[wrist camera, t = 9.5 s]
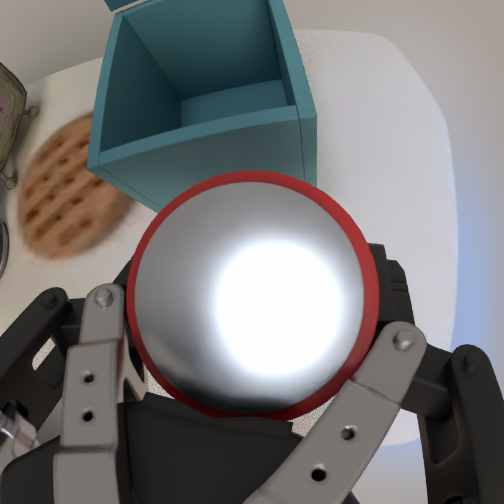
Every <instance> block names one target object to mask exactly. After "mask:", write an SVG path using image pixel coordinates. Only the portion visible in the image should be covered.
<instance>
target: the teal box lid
mask: <svg viewBox="0 0 504 504" xmlns="http://www.w3.org/2000/svg"><path fill="white" fill-rule="evenodd" d="M104 1H105V2H106V4H107V5H108V7H109V9H110V11H114V10H116V9H118V8H120V7H123V6H125V5H128V4H130V3H132V2H135V1H138V0H104Z"/></svg>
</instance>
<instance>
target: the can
mask: <svg viewBox="0 0 504 504" xmlns="http://www.w3.org/2000/svg"><path fill="white" fill-rule="evenodd" d="M379 300H380V295H379V281H378V276H377V271H376V266H375V262H374V259H373V256H372V254H371V251H370V248H369V245H368V244H367V242H366V240H365V238H364V236H363V234H362V232H361V230H360V229H359V228H358V226H357V225H356V223H355V222H354V221H353V219H352V218H351V216H350V215H349V214H348V213H347V212H346V211H345V210H344V209H343V208H342V207H341V206H340V205H339V204H338V203H337V202H336V201H335V200H333V199H332V198H331V197H330V196H328V195H327V194H326V193H324V192H323V191H321V190H319V189H318V188H316V187H314V186H313V185H311V184H309V183H306V182H304V181H302V180H299V179H297V178H295V177H291V176H288V175H284V174H280V173H274V172H267V171H240V172H231V173H227V174H223V175H219V176H215V177H212V178H210V179H207V180H205V181H202V182H200V183H198V184H196V185H194V186H192V187H191V188H189V189H187V190H185V191H184V192H183V193H181V194H180V195H178V196H177V197H176V198H174V199H173V200H172V201H171V202H170V203H169V204H168V205H166V206H165V207H164V208H163V209H162V210H161V211H160V213H159V214H158V215H157V216H156V217H155V218H154V220H153V221H152V222H151V224H150V225H149V227H148V228H147V230H146V231H145V233H144V234H143V236H142V238H141V240H140V242H139V244H138V246H137V248H136V251H135V254H134V257H133V259H132V262H131V266H130V271H129V275H128V282H127V292H126V303H127V315H128V322H129V327H130V331H131V335H132V338H133V341H134V344H135V346H136V349H137V351H138V353H139V356H140V357H141V359H142V361H143V363H144V364H145V366H146V368H147V369H148V371H149V372H150V374H151V375H152V376H153V378H154V379H155V380H156V381H157V383H158V384H159V385H160V386H161V387H162V388H163V389H164V390H165V391H166V392H167V393H168V394H169V395H171V396H172V397H173V398H174V399H176V400H179V401H181V402H183V403H184V404H186V405H188V406H190V407H192V408H194V409H196V410H198V411H200V412H202V413H204V414H206V415H208V416H210V417H213V418H231V417H260V418H267V419H273V420H280V421H289V420H293V419H295V418H297V417H300V416H302V415H305V414H307V413H309V412H311V411H313V410H314V409H316V408H318V407H320V406H321V405H323V404H324V403H326V402H327V401H328V400H330V399H331V398H332V397H333V396H335V395H336V394H337V393H338V392H339V391H340V389H341V388H342V386H343V385H344V384H345V382H346V381H347V380H348V379H349V378H350V379H351V378H352V377H353V375H354V374H355V373H356V371H357V370H358V368H359V367H360V365H361V364H362V362H363V360H364V358H365V356H366V354H367V352H368V350H369V348H370V345H371V342H372V339H373V337H374V334H375V330H376V325H377V320H378V315H379Z"/></svg>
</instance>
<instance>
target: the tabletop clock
mask: <svg viewBox="0 0 504 504" xmlns="http://www.w3.org/2000/svg"><path fill="white" fill-rule="evenodd" d="M26 98H27V92H26V90H25V88H24V86H23V85H22V83H21V82H20V81H19V80H18V78H17V77H16V76H15V75H14V74H13V73H12V72H11V71H9V70H8V69H7V68H6V67H5V66H4V65H3V64H2V63H1V62H0V178H2V179H3V180H5V181H6V182H5V186H6V188H7V189H9V190H11V189H13V188H14V187H15V186H16V180H15V179H14V178H13V177H9V178H7V176H6V175H5V174H4V173H3V172H2V171H3V169H4V167H5V165H6V162H7V160H8V157H9V154H10V152H11V149H12V146H13V144H14V141H15V139H16V136H17V133H18V129H19V126H20V123H21V119H22V116H23V115H26V114H28V115H29V116H30V117H35V116H37V114H38V108H37V107H36V106H32V107H30V108H29V110H25V105H26Z"/></svg>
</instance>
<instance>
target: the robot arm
mask: <svg viewBox="0 0 504 504" xmlns="http://www.w3.org/2000/svg"><path fill="white" fill-rule="evenodd" d="M367 244H368V245H369V248H370V251H371V254H372V256H373V259H374V262H375V266H376V271H377V276H378V281H379V295H380V300H379V315H378V320H377V325H376V330H375V334H374V337H373V339H372V342H371V345H370V348H369V350H368V352H367V354H366V356H365V358H364V360H363V362H362V364H361V365H360V367H359V368H358V370H357V371H356V373H355V374H354V376H353V377H352V378H351V379H350V378H349V379H348V380H347V381H346V382H345V384H344V385H343V386H342V388H341V389H340V391H339V392H338V393H337V395H336V396H335V398H334V399H333V400H332V402H331V403H330V404H329V406H328V407H327V409H326V410H325V411H324V413H323V414H322V415H321V417H320V418H319V419H318V420H317V422H316V423H315V424H314V426H313V427H312V428H311V429H310V431H309V432H308V433H307V435H306V436H305V437H303V436H301V435H299V434H297V433H294V432H292V426H293V422H287V421H280V420H273V419H267V418H260V417H231V418H213V417H210V416H208V415H206V414H204V413H202V412H200V411H198V410H196V409H194V408H192V407H190V406H188V405H186V404H184V403H183V402H181V401H179V400H175V399H172V398H168V397H164V396H161V395H157V394H153V393H150V392H149V387H148V375H147V368H146V366H145V364H144V363H143V361H142V359H141V357H140V356H139V353H138V351H137V349H136V346H135V344H134V341H133V338H132V335H131V331H130V327H129V322H128V315H127V303H126V292H127V282H128V275H129V271H130V266H131V262H132V259H133V257H134V255H133V256H132V258H131V260H129V262H128V263H127V264H126V266H125V267H124V268H123V269H122V271H121V272H120V273H119V275H118V276H117V277H116V279H115V280H114V281H113V283H107V284H102V285H100V286H97V287H96V288H94V289H93V290H91V291H90V292H89V293H88V295H87V296H86V298H78V299H69V298H68V296H67V294H66V292H65V290H64V289H62V288H59V287H54V288H50V289H47V290H45V291H43V292H42V293H41V294H39V295H38V296H37V297H36V298H35V300H34V301H33V302H32V303H31V304H30V305H29V306H28V307H27V308H26V309H25V310H24V311H23V312H22V313H21V314H20V315H19V317H18V318H17V319H16V320H15V321H14V322H13V323H12V324H11V325H10V327H9V328H8V329H7V330H6V331H5V332H4V333H3V334H2V336H1V337H0V504H360V503H359V502H358V500H357V499H356V497H355V496H354V495H353V493H352V491H351V489H352V488H353V487H354V485H355V484H356V482H357V481H358V479H359V478H360V476H361V475H362V473H363V471H364V470H365V468H366V467H367V465H368V464H369V462H370V461H371V459H372V458H373V456H374V454H375V453H376V451H377V450H378V448H379V446H380V444H381V443H382V441H383V439H384V438H385V436H386V434H387V432H388V431H389V429H390V427H391V425H392V423H393V422H394V420H395V418H396V416H397V414H398V412H399V410H400V408H401V409H404V410H407V411H410V412H413V413H416V414H417V419H418V425H419V431H420V438H421V444H422V451H423V458H424V467H425V476H426V486H427V496H428V504H504V400H503V397H502V394H501V391H500V388H499V385H498V382H497V379H496V376H495V373H494V370H493V368H492V365H491V362H490V360H489V358H488V356H487V355H486V354H485V352H484V351H482V350H481V349H480V348H478V347H476V346H474V345H469V344H466V345H461V346H459V347H457V348H456V349H455V350H454V351H453V353H451V352H448V351H445V350H442V349H439V348H436V347H434V346H432V345H430V344H428V343H427V342H426V338H425V336H424V334H423V333H422V331H421V330H420V329H419V328H417V327H416V326H415V321H414V316H413V310H412V305H411V300H410V295H409V293H408V286H407V284H406V282H407V281H406V277H405V272H404V270H403V268H402V267H401V266H400V265H399V263H398V262H397V261H396V260H387V258H386V253H385V248H384V245H382V244H373V243H367ZM7 254H8V235H7V230H6V227H5V225H4V223H3V221H2V220H0V278H1V276H2V274H3V271H4V268H5V265H6V260H7ZM49 338H51V339H52V341H53V342H54V344H55V345H56V346H55V347H54V348H53V349H52V350H51V352H50V353H49V354H48V355H47V357H46V358H45V359H44V360H43V362H42V363H41V364H40V366H39V367H38V368H37V369H36V371H35V370H34V369H33V366H32V361H33V358H34V356H35V355H36V354H37V352H38V351H39V350H40V349H41V348H42V346H43V345H44V344H45V343H46V342H47V340H48V339H49ZM62 396H63V398H62V414H61V433H60V435H59V436H57V437H56V438H53V439H52V440H50V441H48V442H46V443H44V444H42V445H40V446H39V442H38V441H37V440H36V434H37V432H38V431H39V429H40V428H41V426H42V425H43V423H44V422H45V420H46V419H47V417H48V416H49V414H50V413H51V412H52V410H53V409H54V407H55V406H56V404H57V403H58V402H59V400H60V399H61V397H62Z"/></svg>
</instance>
